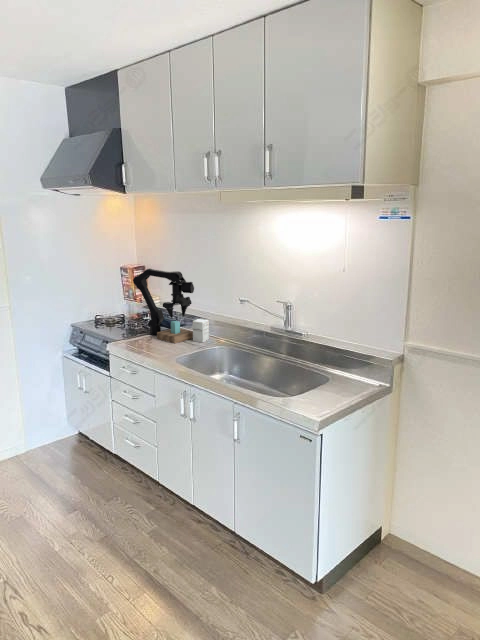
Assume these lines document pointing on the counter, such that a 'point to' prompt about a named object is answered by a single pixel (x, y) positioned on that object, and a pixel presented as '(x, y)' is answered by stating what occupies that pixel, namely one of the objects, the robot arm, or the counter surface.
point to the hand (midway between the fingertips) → (177, 317)
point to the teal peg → (175, 327)
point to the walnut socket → (175, 336)
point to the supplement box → (200, 330)
